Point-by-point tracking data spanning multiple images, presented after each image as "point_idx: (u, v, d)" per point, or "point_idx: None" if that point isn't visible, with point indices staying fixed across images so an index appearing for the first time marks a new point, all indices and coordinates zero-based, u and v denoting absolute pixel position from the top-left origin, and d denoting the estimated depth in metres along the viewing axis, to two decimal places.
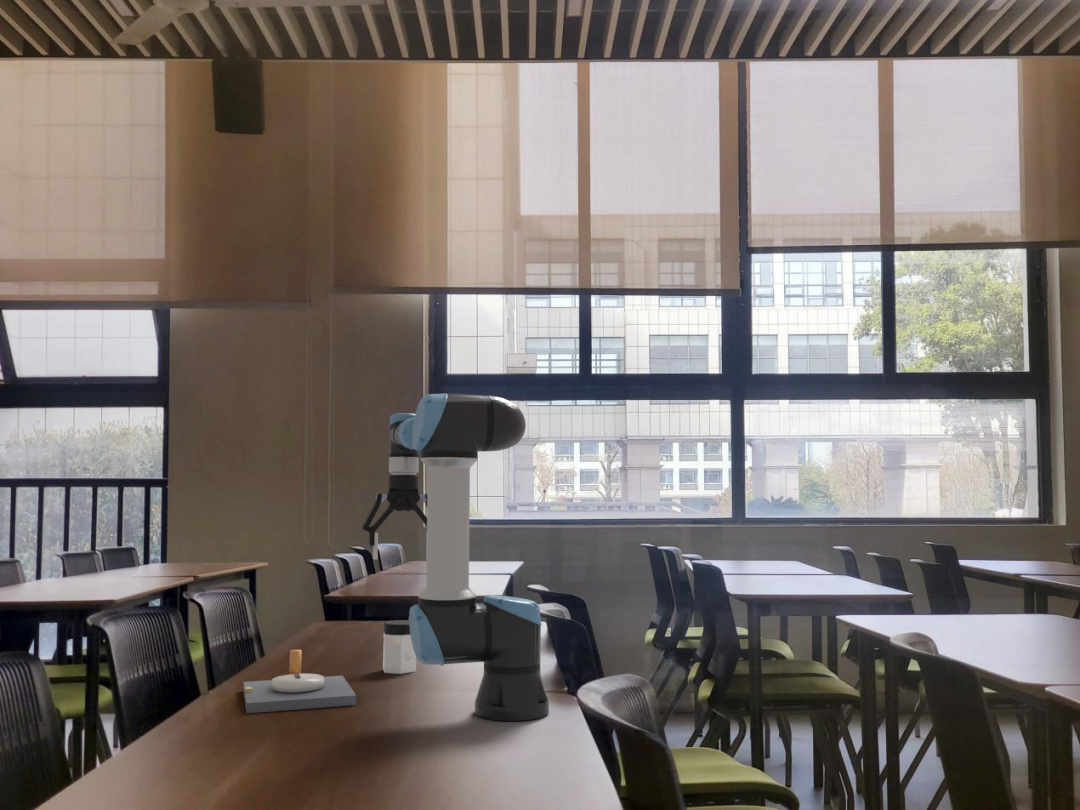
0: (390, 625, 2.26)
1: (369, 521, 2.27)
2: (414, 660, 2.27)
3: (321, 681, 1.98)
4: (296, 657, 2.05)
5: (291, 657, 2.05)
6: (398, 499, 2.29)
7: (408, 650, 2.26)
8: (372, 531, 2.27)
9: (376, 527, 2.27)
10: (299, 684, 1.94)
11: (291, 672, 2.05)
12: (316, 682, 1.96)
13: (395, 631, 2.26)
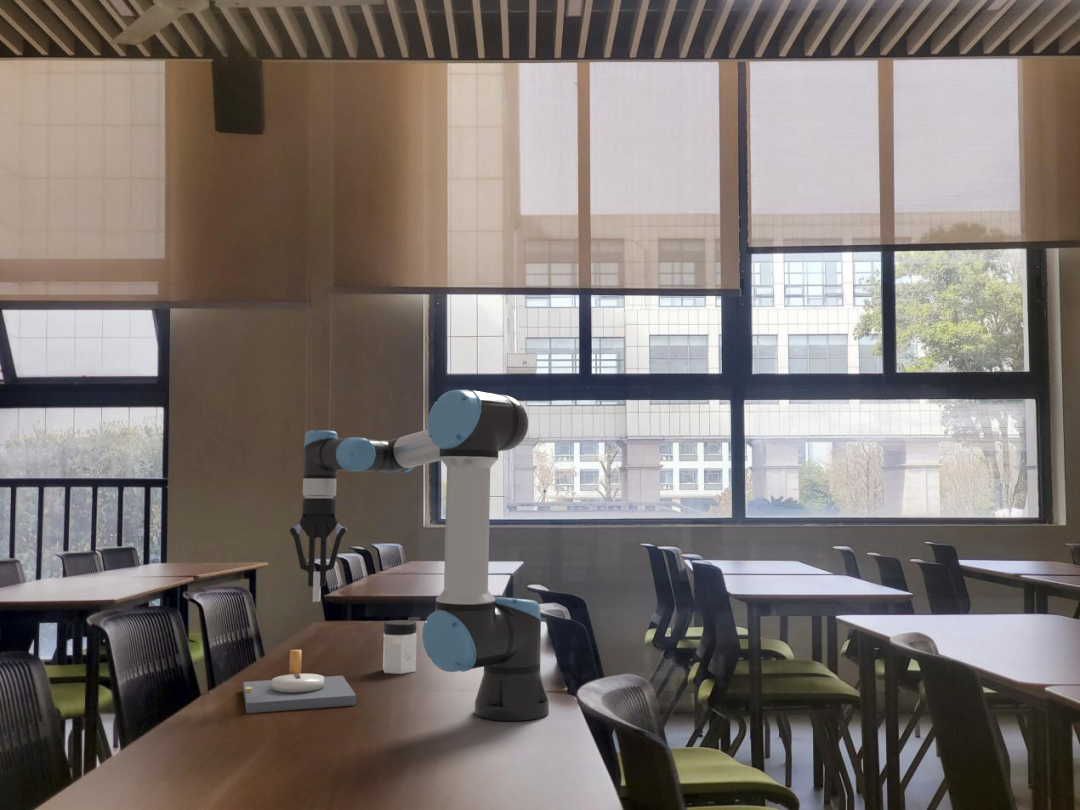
0: (390, 625, 2.26)
1: (301, 559, 2.07)
2: (414, 660, 2.27)
3: (321, 681, 1.98)
4: (296, 657, 2.05)
5: (291, 657, 2.05)
6: (310, 526, 2.08)
7: (408, 650, 2.26)
8: (311, 570, 2.07)
9: (312, 564, 2.08)
10: (299, 684, 1.94)
11: (291, 672, 2.05)
12: (316, 682, 1.96)
13: (395, 631, 2.26)
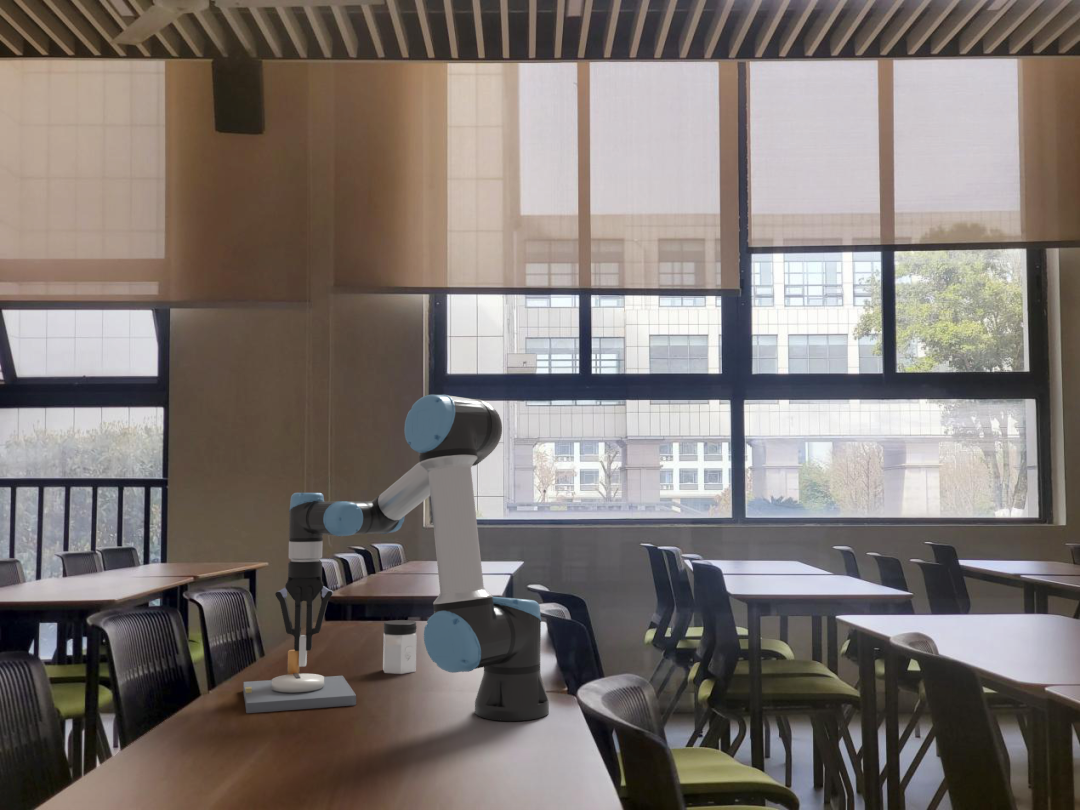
0: (390, 625, 2.26)
1: (287, 623, 2.06)
2: (414, 660, 2.27)
3: (322, 681, 1.98)
4: (295, 657, 2.05)
5: (289, 657, 2.05)
6: (296, 590, 2.06)
7: (408, 650, 2.26)
8: (297, 635, 2.06)
9: (298, 628, 2.06)
10: (300, 684, 1.94)
11: (289, 672, 2.05)
12: (317, 682, 1.96)
13: (395, 631, 2.26)
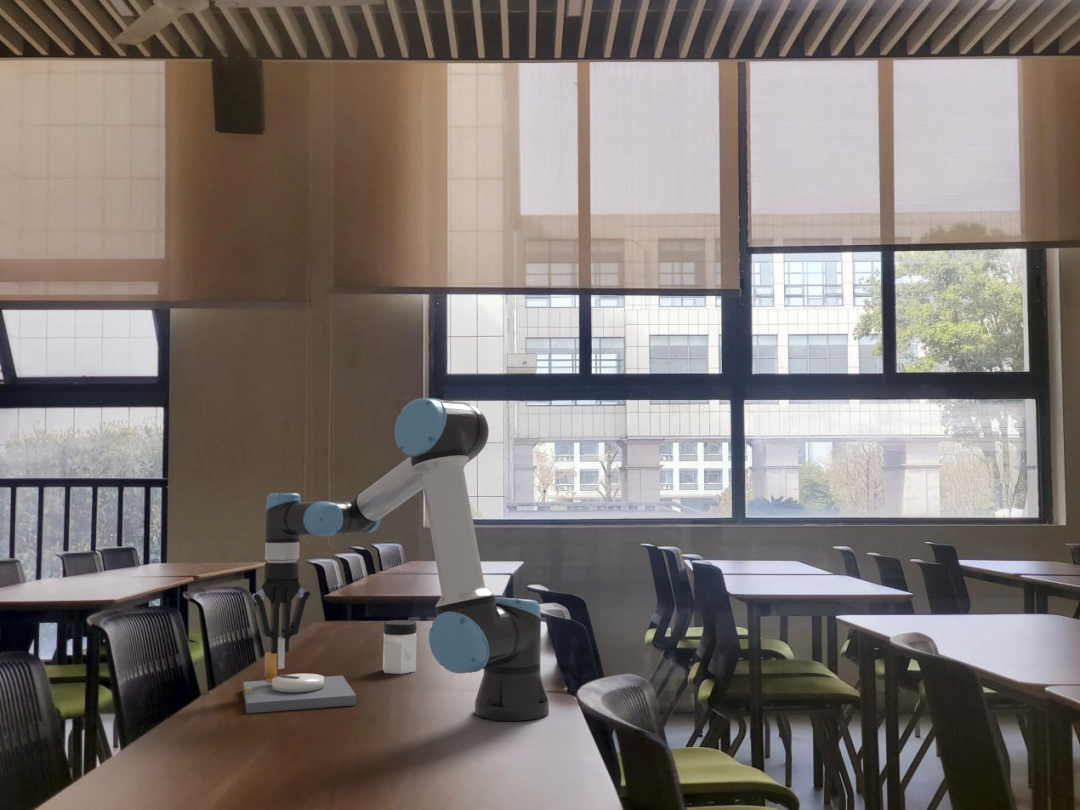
0: (390, 625, 2.26)
1: (266, 625, 2.02)
2: (414, 660, 2.27)
3: None
4: (276, 660, 2.02)
5: (270, 660, 2.01)
6: (276, 591, 2.03)
7: (408, 650, 2.26)
8: (276, 637, 2.03)
9: (277, 631, 2.03)
10: (317, 682, 1.96)
11: (270, 675, 2.01)
12: None
13: (395, 631, 2.26)
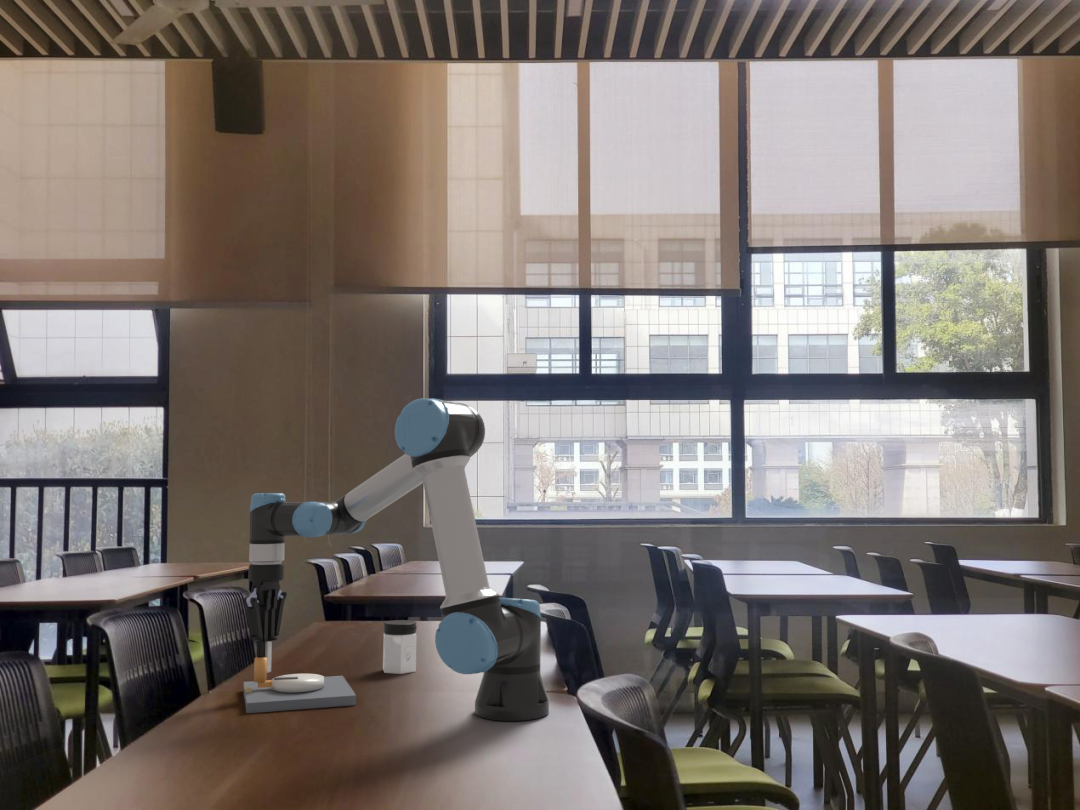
0: (390, 625, 2.26)
1: (260, 629, 1.97)
2: (414, 660, 2.27)
3: None
4: (266, 663, 1.98)
5: (264, 664, 1.97)
6: (269, 594, 1.99)
7: (408, 650, 2.26)
8: (266, 640, 1.99)
9: (266, 634, 1.99)
10: (323, 678, 2.00)
11: (264, 680, 1.97)
12: None
13: (395, 631, 2.26)
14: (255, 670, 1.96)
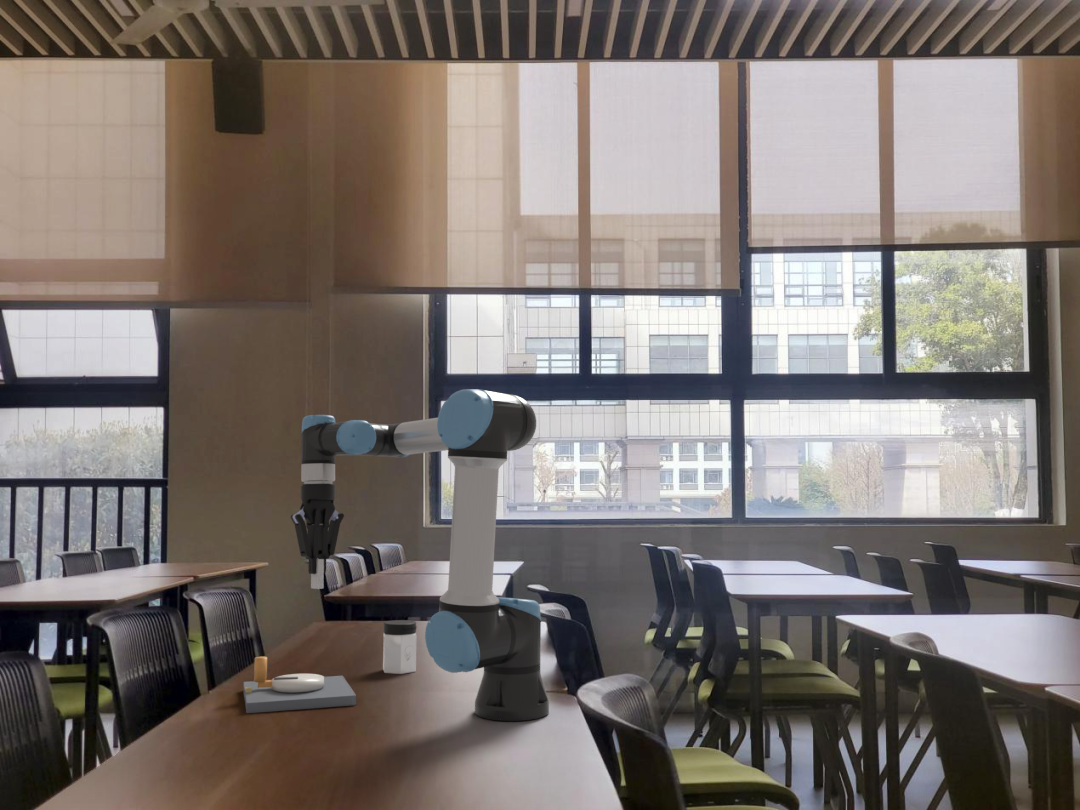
0: (390, 625, 2.26)
1: (307, 545, 2.02)
2: (414, 660, 2.27)
3: None
4: None
5: (264, 664, 1.97)
6: (317, 512, 2.04)
7: (408, 650, 2.26)
8: (316, 557, 2.04)
9: (316, 551, 2.04)
10: (323, 678, 1.99)
11: (264, 680, 1.97)
12: None
13: (395, 631, 2.26)
14: (255, 670, 1.97)
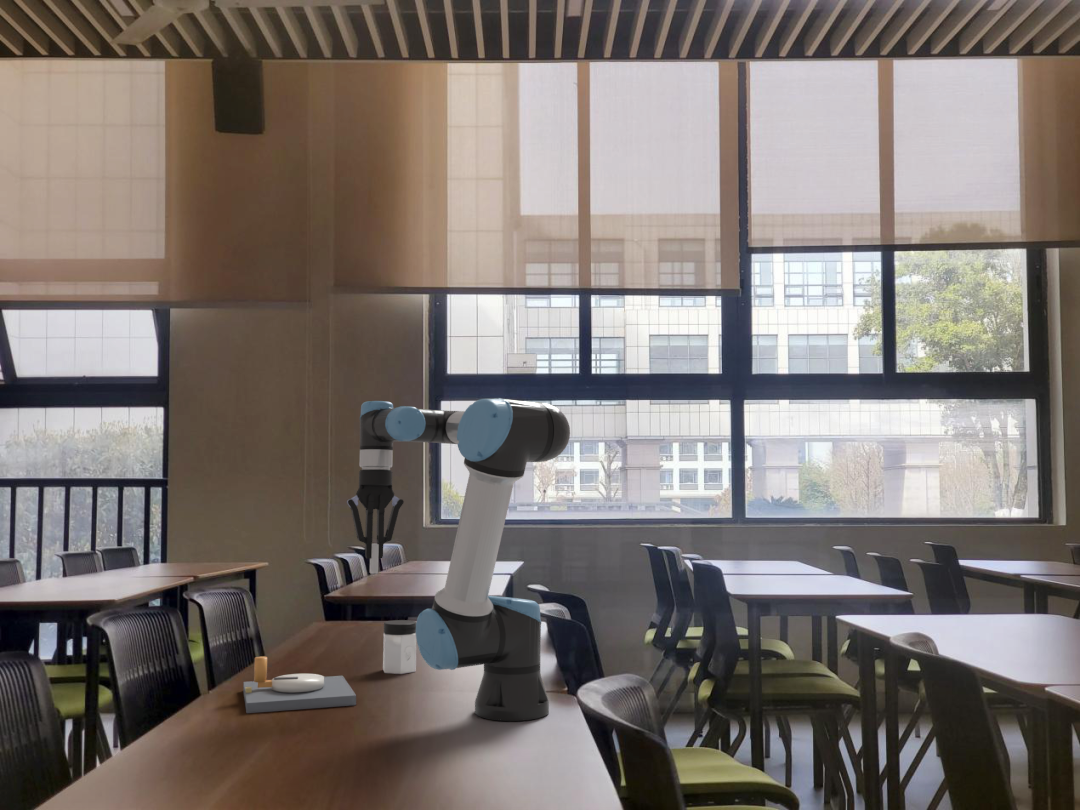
0: (390, 625, 2.26)
1: (360, 530, 2.05)
2: (414, 660, 2.27)
3: None
4: None
5: (264, 664, 1.97)
6: (369, 497, 2.05)
7: (408, 650, 2.26)
8: (370, 542, 2.05)
9: (370, 536, 2.06)
10: (323, 678, 1.99)
11: (264, 680, 1.97)
12: None
13: (395, 631, 2.26)
14: (255, 670, 1.97)
